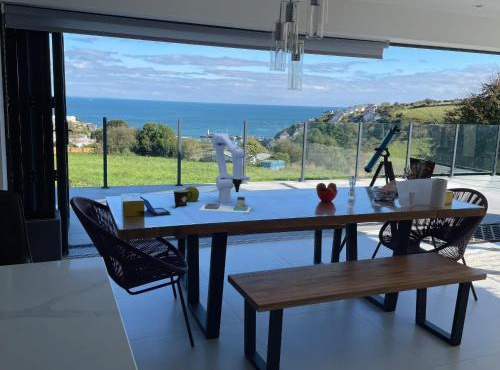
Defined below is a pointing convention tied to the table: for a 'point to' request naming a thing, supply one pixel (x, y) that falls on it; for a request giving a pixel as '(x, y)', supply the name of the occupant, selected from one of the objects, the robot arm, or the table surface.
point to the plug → (241, 202)
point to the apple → (194, 194)
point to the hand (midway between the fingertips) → (237, 192)
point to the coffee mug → (181, 197)
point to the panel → (226, 208)
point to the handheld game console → (155, 209)
